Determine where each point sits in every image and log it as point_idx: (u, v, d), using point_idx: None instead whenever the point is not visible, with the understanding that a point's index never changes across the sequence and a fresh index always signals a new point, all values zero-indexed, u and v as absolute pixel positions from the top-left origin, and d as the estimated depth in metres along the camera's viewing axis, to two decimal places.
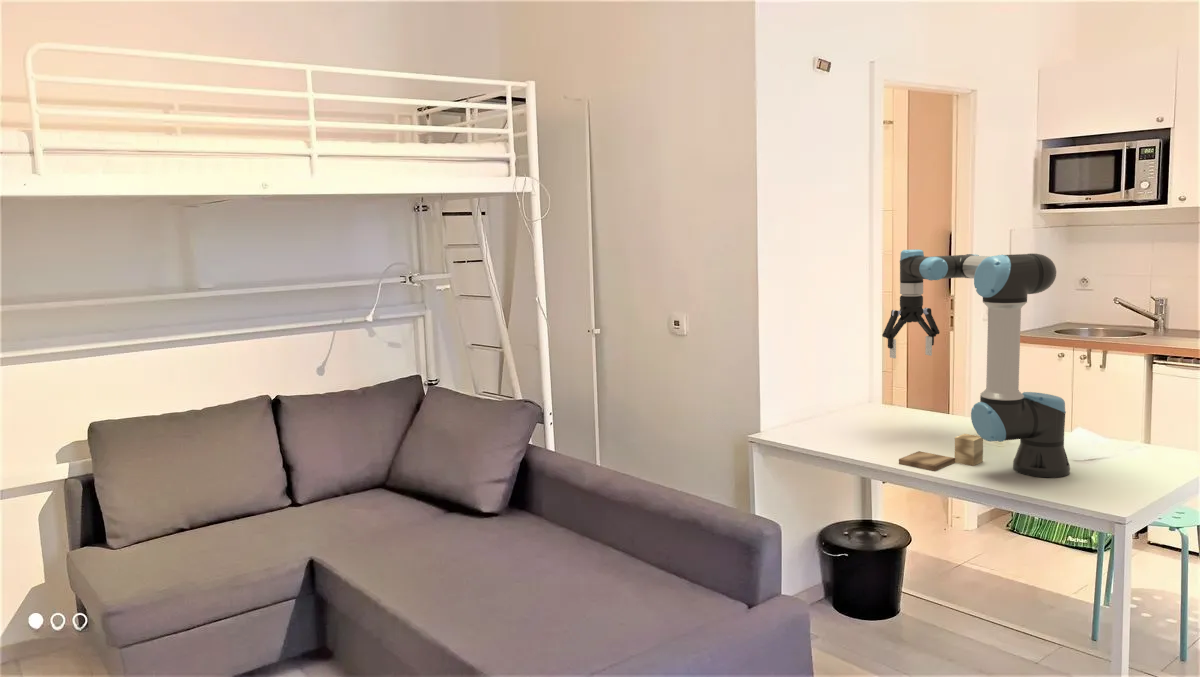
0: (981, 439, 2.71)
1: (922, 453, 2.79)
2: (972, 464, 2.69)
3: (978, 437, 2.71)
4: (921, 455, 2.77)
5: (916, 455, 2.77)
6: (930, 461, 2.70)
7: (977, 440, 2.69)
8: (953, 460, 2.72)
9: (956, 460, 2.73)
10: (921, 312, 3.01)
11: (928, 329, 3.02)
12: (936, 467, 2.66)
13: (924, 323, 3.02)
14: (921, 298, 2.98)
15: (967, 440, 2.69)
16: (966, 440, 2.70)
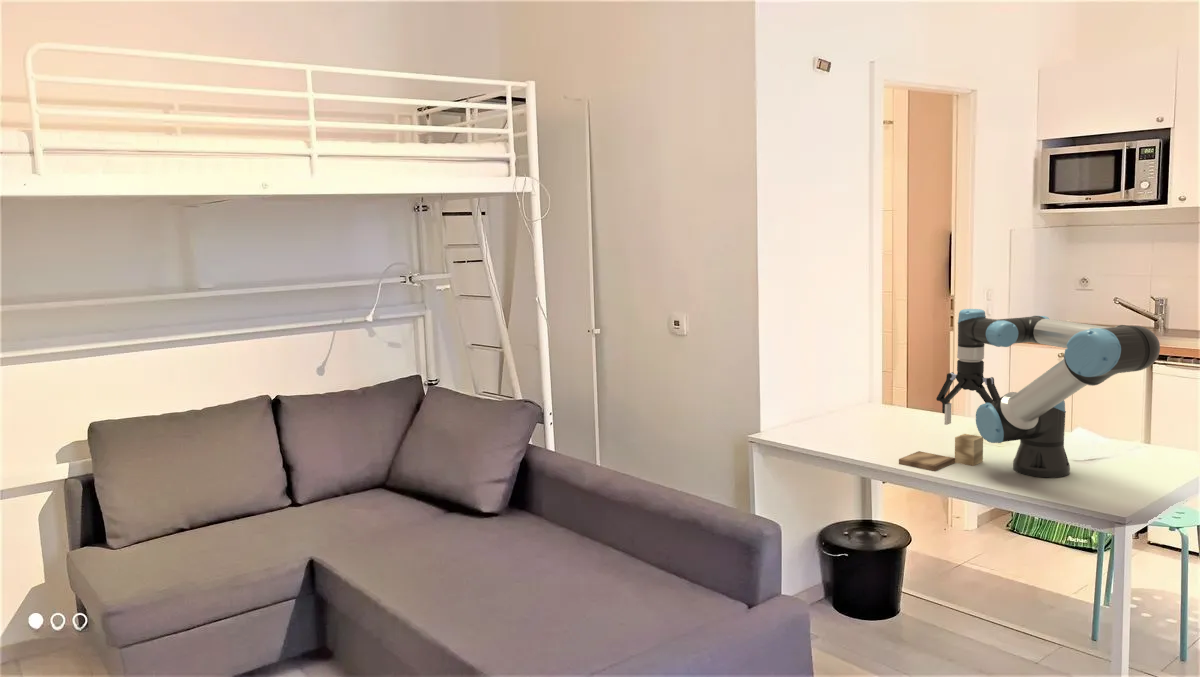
0: (981, 439, 2.71)
1: (922, 453, 2.79)
2: (972, 464, 2.69)
3: (978, 437, 2.71)
4: (921, 455, 2.77)
5: (916, 455, 2.77)
6: (930, 461, 2.70)
7: (977, 440, 2.69)
8: (953, 460, 2.72)
9: (956, 460, 2.73)
10: (978, 381, 2.67)
11: (986, 401, 2.65)
12: (936, 467, 2.66)
13: (981, 394, 2.66)
14: (971, 365, 2.65)
15: (967, 440, 2.70)
16: (966, 440, 2.70)
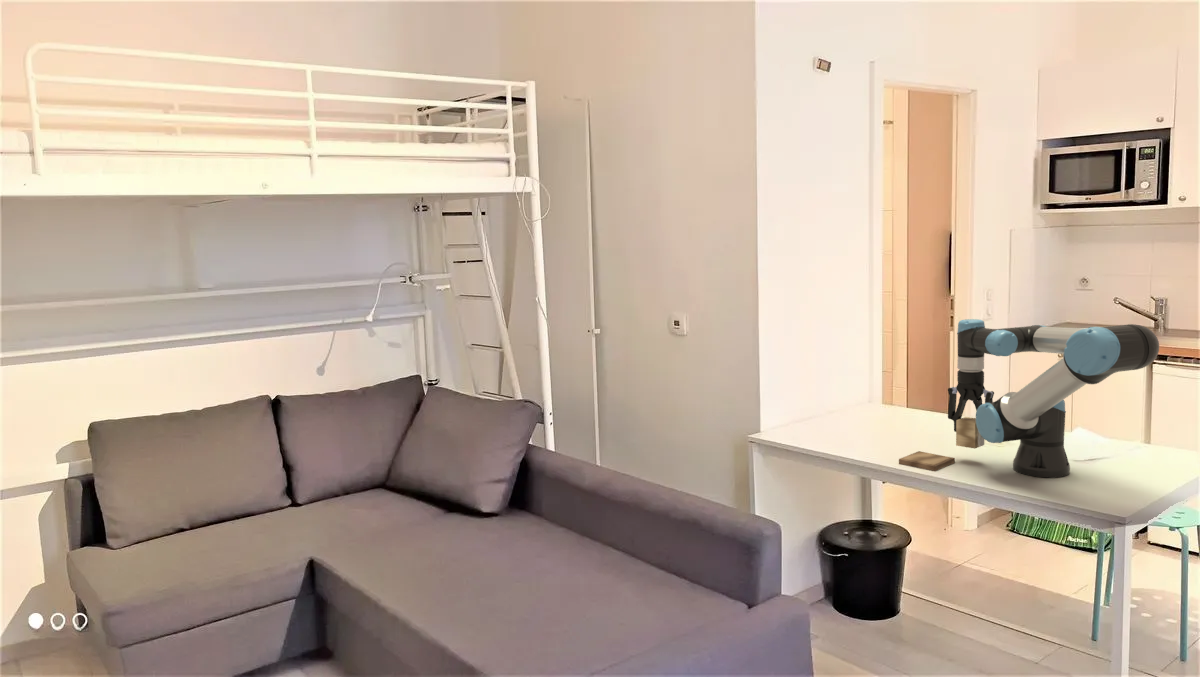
0: None
1: (922, 453, 2.79)
2: (974, 446, 2.68)
3: None
4: (921, 455, 2.77)
5: (916, 455, 2.77)
6: (930, 461, 2.70)
7: None
8: (953, 460, 2.72)
9: (958, 443, 2.72)
10: (978, 391, 2.67)
11: None
12: (936, 467, 2.66)
13: (977, 406, 2.68)
14: (971, 375, 2.66)
15: (968, 422, 2.68)
16: (967, 422, 2.69)
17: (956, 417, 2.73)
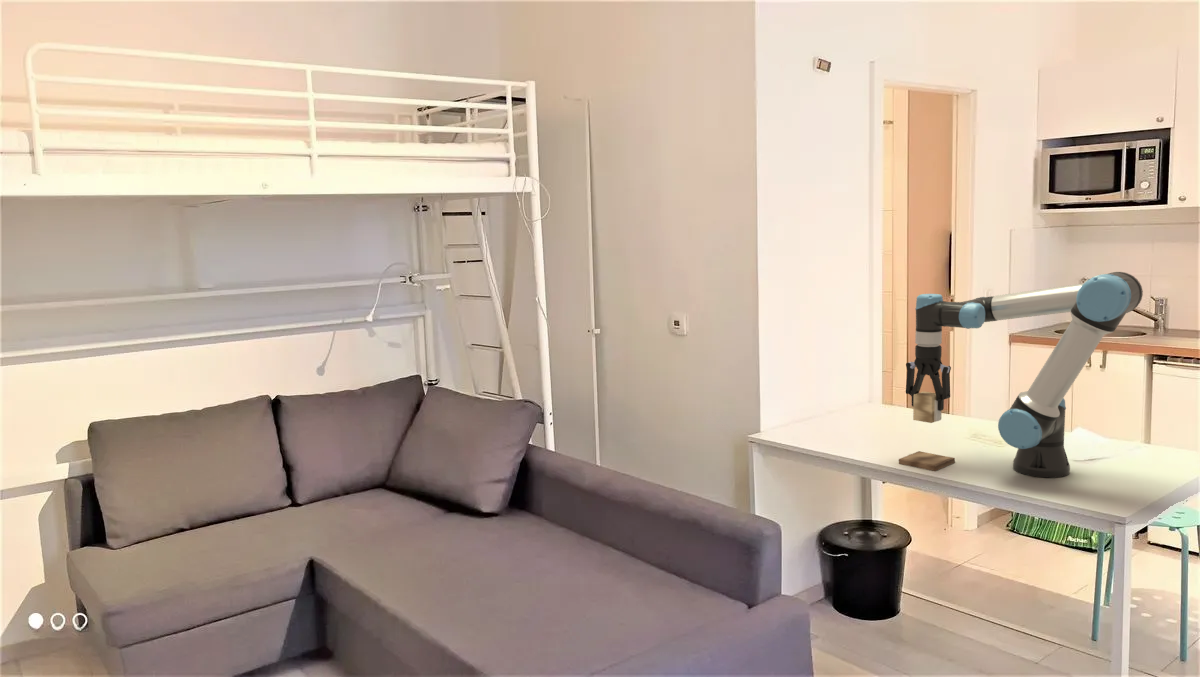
0: None
1: (922, 453, 2.79)
2: (930, 421, 2.68)
3: None
4: (921, 455, 2.77)
5: (916, 455, 2.77)
6: (930, 461, 2.70)
7: (935, 397, 2.68)
8: (953, 460, 2.72)
9: (915, 417, 2.71)
10: (935, 366, 2.66)
11: (936, 390, 2.67)
12: (936, 467, 2.66)
13: (934, 381, 2.67)
14: (928, 350, 2.65)
15: (925, 397, 2.68)
16: (924, 397, 2.68)
17: (914, 392, 2.73)
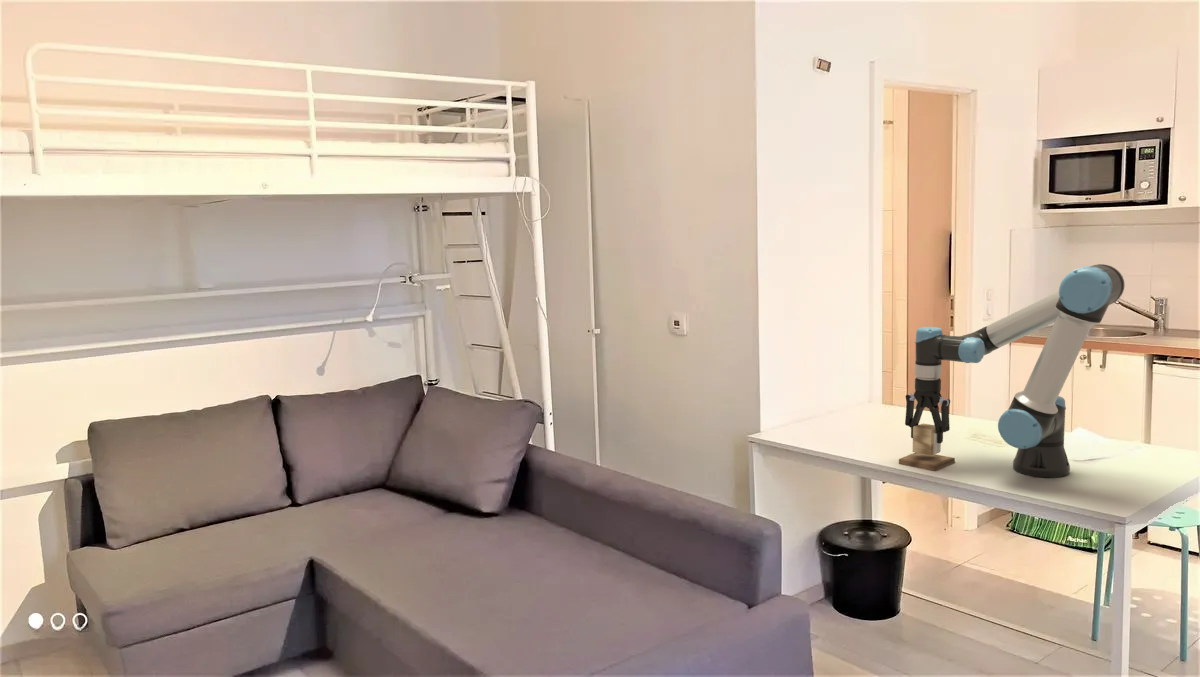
0: None
1: None
2: (929, 453, 2.69)
3: None
4: (921, 455, 2.77)
5: (916, 455, 2.77)
6: (930, 461, 2.70)
7: (935, 430, 2.69)
8: (953, 460, 2.72)
9: (914, 449, 2.73)
10: (935, 399, 2.68)
11: (935, 422, 2.69)
12: (936, 467, 2.66)
13: (933, 414, 2.69)
14: (928, 383, 2.67)
15: (925, 429, 2.69)
16: (924, 429, 2.70)
17: (913, 424, 2.74)
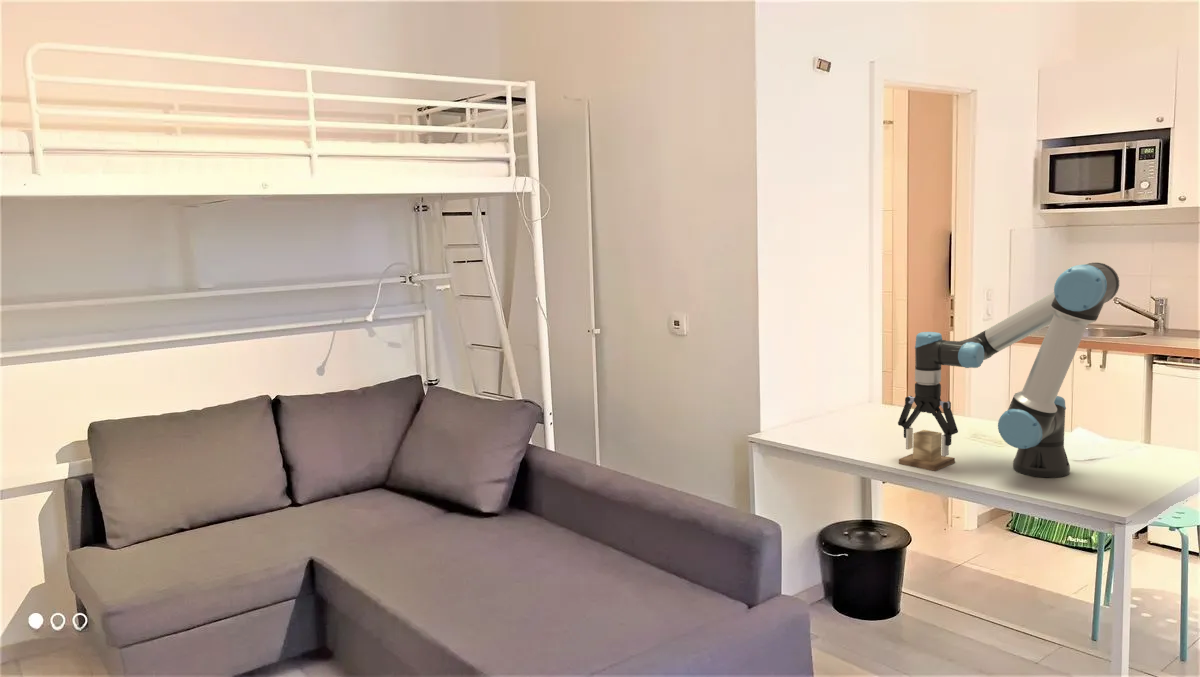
0: (939, 435, 2.71)
1: None
2: (930, 460, 2.69)
3: (936, 433, 2.71)
4: None
5: None
6: None
7: (935, 436, 2.70)
8: (953, 460, 2.72)
9: (914, 456, 2.73)
10: (935, 404, 2.68)
11: (941, 426, 2.67)
12: (936, 467, 2.66)
13: (937, 417, 2.68)
14: (927, 388, 2.67)
15: (925, 436, 2.70)
16: (924, 436, 2.70)
17: (906, 424, 2.76)
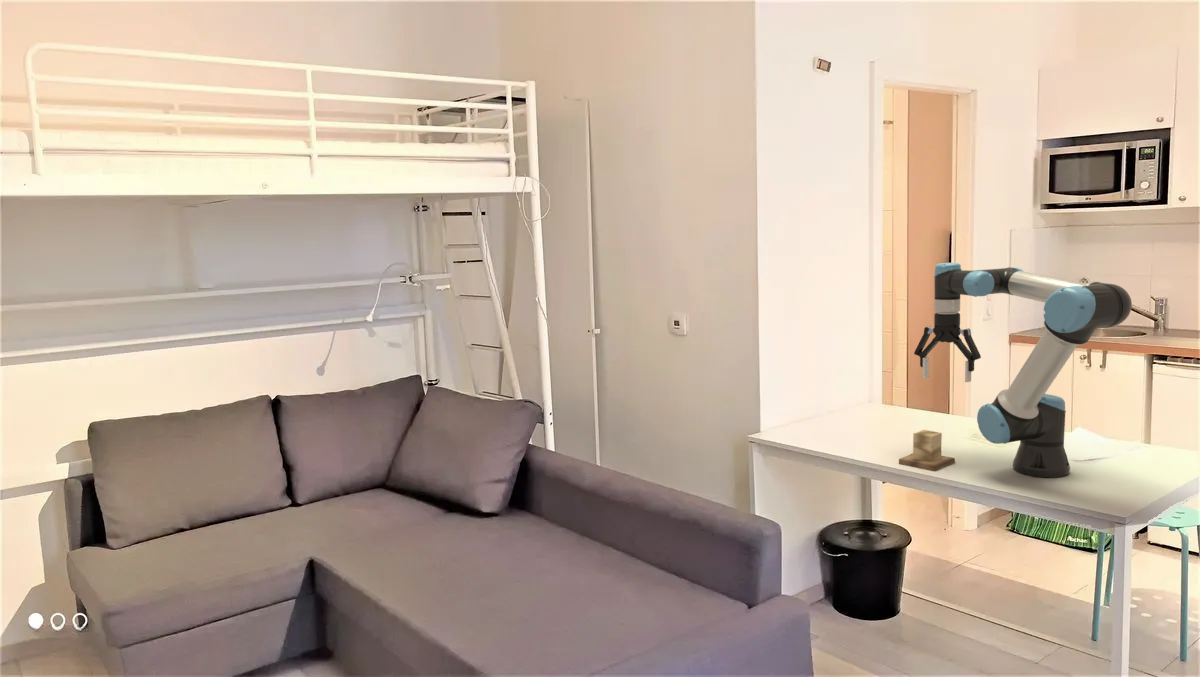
0: (939, 435, 2.71)
1: None
2: (930, 460, 2.69)
3: (936, 433, 2.71)
4: None
5: None
6: None
7: (935, 436, 2.70)
8: (953, 460, 2.72)
9: (914, 456, 2.73)
10: (955, 332, 2.73)
11: (963, 352, 2.72)
12: (936, 467, 2.66)
13: (958, 345, 2.72)
14: (948, 317, 2.72)
15: (925, 436, 2.70)
16: (924, 436, 2.70)
17: (923, 353, 2.81)
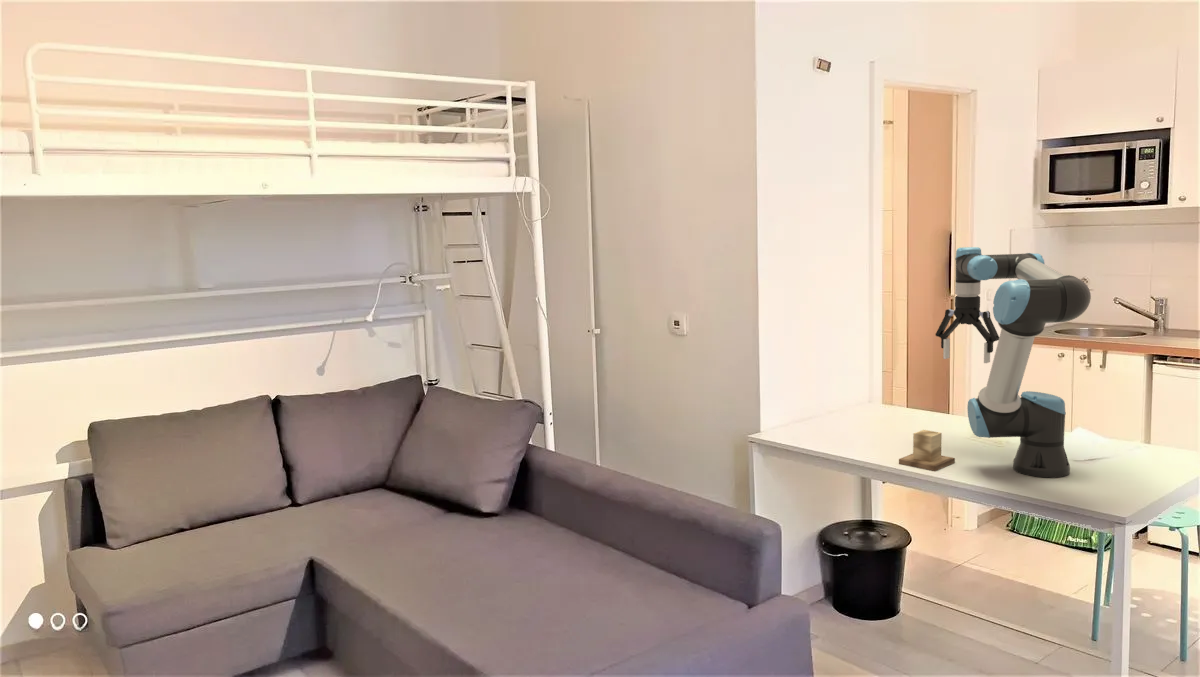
0: (939, 435, 2.71)
1: None
2: (930, 460, 2.69)
3: (936, 433, 2.71)
4: None
5: None
6: None
7: (935, 436, 2.70)
8: (953, 460, 2.72)
9: (914, 456, 2.73)
10: (975, 315, 2.81)
11: (983, 334, 2.80)
12: (936, 467, 2.66)
13: (978, 327, 2.81)
14: (968, 299, 2.80)
15: (925, 436, 2.70)
16: (924, 436, 2.70)
17: (944, 335, 2.90)
